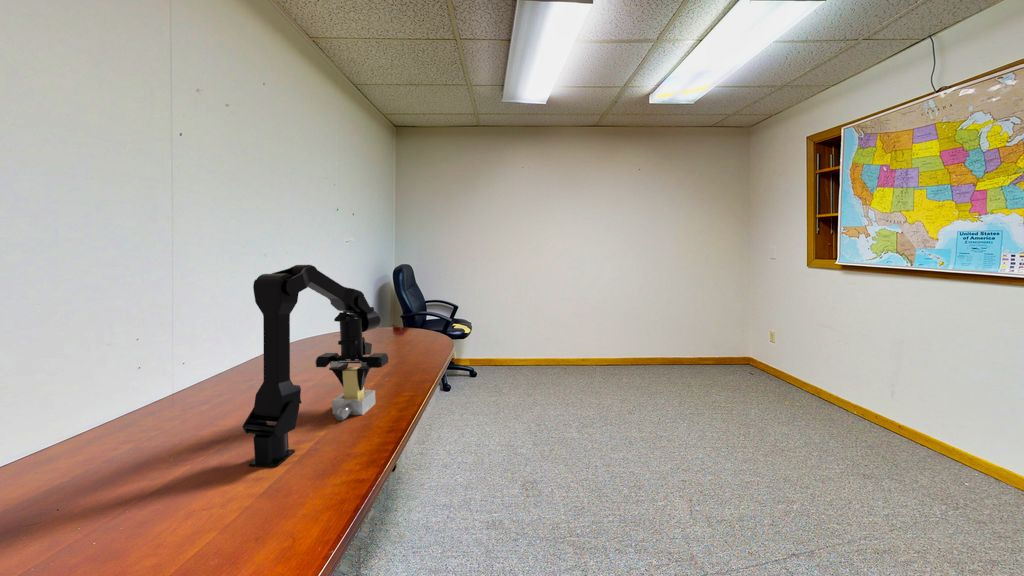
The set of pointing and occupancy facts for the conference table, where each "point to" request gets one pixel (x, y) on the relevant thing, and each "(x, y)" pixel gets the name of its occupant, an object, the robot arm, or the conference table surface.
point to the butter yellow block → (351, 384)
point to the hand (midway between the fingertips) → (353, 389)
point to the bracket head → (352, 405)
